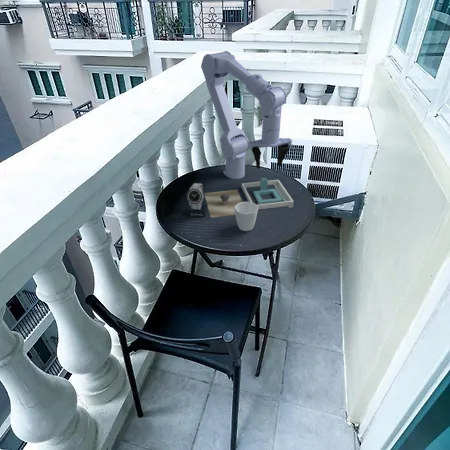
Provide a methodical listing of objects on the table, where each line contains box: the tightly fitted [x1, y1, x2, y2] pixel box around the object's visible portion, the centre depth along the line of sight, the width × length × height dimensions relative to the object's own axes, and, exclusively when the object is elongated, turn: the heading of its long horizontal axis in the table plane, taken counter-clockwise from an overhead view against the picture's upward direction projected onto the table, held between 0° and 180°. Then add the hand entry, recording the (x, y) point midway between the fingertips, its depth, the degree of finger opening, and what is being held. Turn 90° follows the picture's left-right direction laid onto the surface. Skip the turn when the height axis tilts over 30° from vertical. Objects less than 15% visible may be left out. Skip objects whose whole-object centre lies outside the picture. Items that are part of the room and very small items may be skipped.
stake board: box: [203, 189, 243, 218], centre depth 111 cm, size 16×12×4 cm
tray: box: [241, 179, 295, 211], centre depth 115 cm, size 16×14×2 cm
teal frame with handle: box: [252, 177, 284, 205], centre depth 113 cm, size 10×8×5 cm
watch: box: [186, 183, 209, 218], centre depth 104 cm, size 6×8×11 cm
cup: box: [234, 200, 259, 232], centre depth 99 cm, size 7×10×8 cm
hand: (268, 166), depth 115 cm, fingers open, 7 cm apart
